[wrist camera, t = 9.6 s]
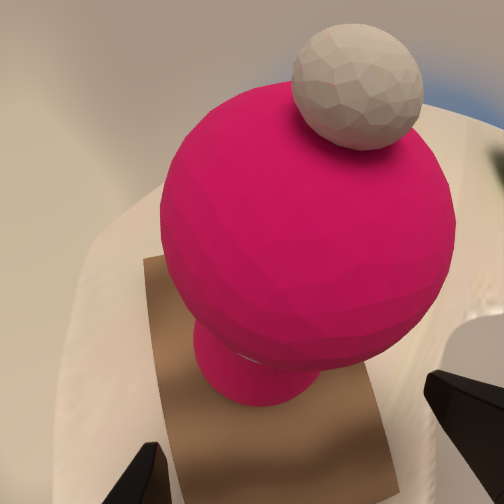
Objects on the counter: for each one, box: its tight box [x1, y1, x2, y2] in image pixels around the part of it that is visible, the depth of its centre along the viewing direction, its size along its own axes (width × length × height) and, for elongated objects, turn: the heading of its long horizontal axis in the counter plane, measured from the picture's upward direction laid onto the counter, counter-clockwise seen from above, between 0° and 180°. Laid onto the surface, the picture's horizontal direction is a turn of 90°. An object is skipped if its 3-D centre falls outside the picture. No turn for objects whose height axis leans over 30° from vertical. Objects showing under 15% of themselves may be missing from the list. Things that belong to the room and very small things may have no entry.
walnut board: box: [143, 255, 400, 504], centre depth 21 cm, size 22×14×2 cm, turn 13°
